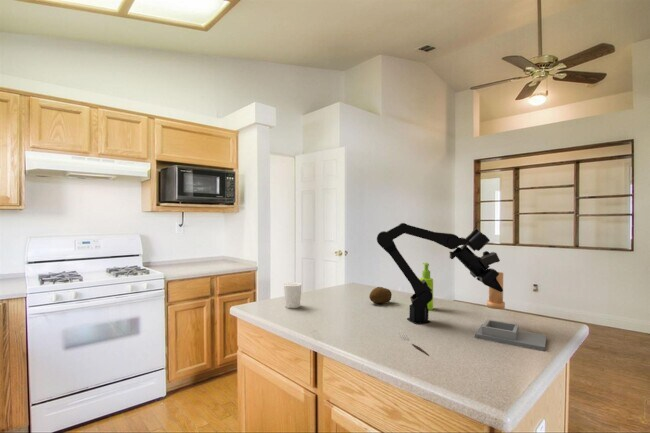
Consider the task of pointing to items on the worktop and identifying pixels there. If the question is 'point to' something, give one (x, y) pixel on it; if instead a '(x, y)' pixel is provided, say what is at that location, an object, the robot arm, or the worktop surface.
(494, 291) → the orange knob handle
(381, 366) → the worktop surface
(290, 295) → the white cup
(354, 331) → the worktop surface
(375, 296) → the potato
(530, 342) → the housing
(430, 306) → the soap dispenser
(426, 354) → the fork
